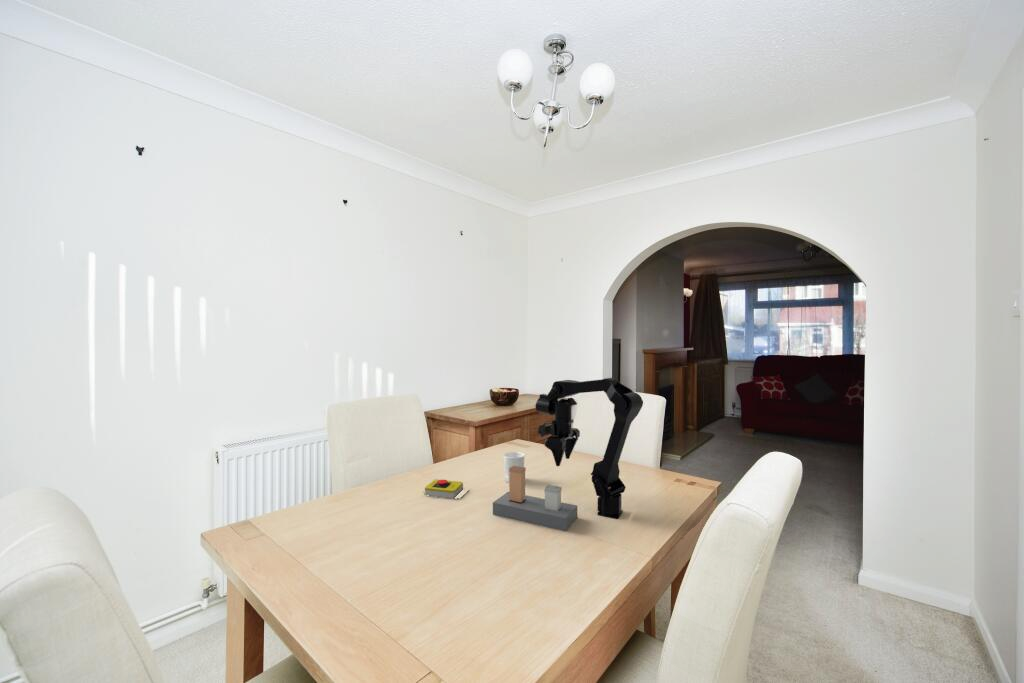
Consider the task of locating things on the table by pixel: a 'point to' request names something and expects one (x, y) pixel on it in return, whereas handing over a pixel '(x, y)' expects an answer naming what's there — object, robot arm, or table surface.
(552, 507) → the grey plug
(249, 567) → the table surface
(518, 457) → the white cup
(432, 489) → the emergency button
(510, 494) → the terracotta plug
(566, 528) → the block
